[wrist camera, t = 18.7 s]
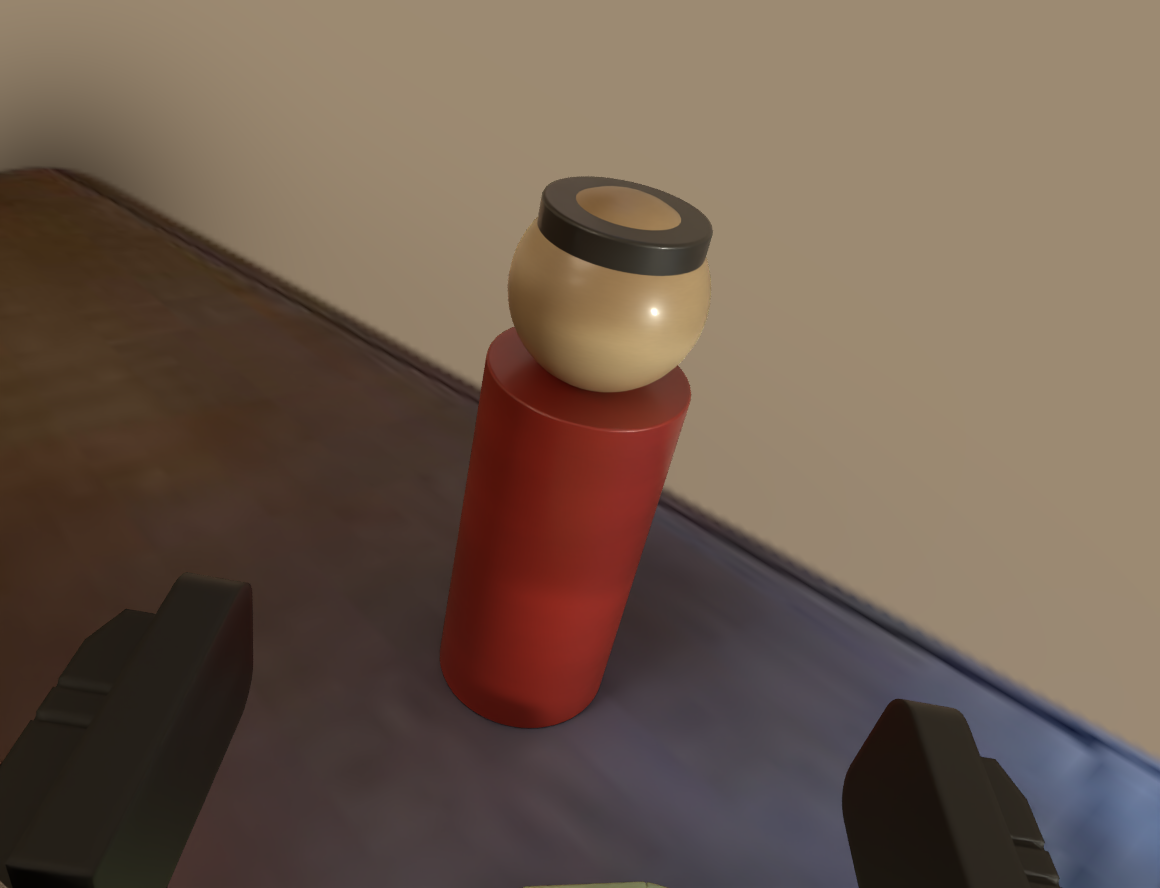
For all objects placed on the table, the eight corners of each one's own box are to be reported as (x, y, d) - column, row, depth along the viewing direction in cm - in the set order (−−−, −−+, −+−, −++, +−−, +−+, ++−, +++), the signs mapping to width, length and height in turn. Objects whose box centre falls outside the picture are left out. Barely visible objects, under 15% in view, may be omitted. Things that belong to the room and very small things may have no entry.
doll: (405, 672, 25) (469, 179, 17) (496, 578, 29) (583, 138, 21) (552, 759, 23) (696, 267, 16) (627, 649, 27) (775, 206, 19)
